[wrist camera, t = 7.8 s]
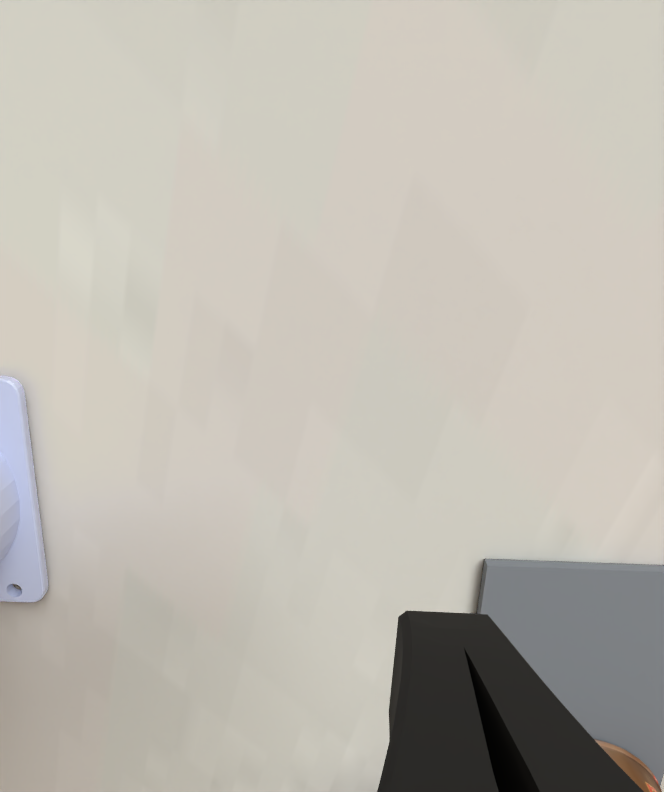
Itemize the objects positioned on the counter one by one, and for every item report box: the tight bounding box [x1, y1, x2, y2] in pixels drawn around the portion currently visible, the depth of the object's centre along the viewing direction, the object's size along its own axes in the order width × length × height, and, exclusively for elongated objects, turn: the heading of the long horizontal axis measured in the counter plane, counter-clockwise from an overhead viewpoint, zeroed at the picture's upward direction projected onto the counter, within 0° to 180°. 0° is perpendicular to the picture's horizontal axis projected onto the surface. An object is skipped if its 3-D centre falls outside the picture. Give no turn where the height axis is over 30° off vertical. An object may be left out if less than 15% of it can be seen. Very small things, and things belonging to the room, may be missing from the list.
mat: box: [477, 559, 664, 786], centre depth 23 cm, size 8×17×1 cm, turn 178°
